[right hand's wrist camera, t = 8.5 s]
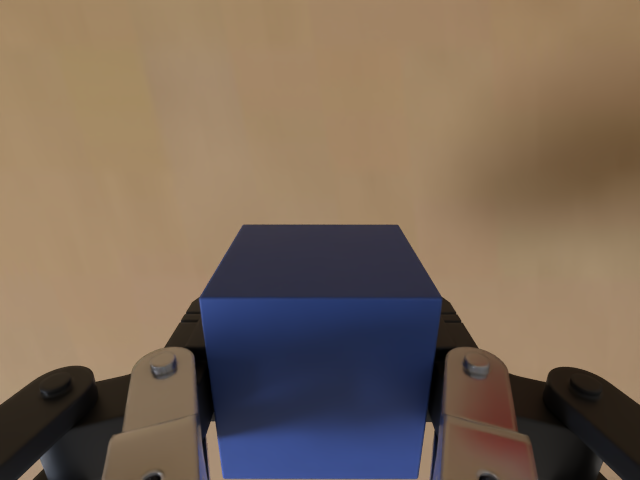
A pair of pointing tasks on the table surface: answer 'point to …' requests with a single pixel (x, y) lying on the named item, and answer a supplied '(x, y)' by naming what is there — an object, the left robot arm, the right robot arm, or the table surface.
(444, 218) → the table surface
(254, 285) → the block
